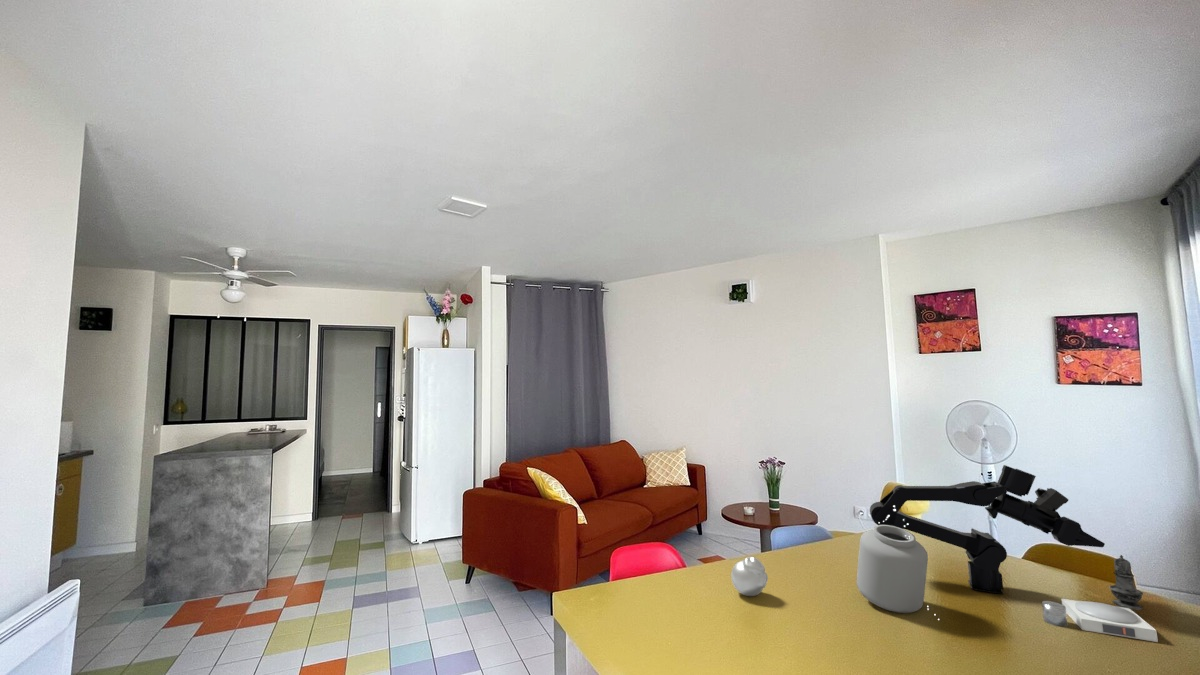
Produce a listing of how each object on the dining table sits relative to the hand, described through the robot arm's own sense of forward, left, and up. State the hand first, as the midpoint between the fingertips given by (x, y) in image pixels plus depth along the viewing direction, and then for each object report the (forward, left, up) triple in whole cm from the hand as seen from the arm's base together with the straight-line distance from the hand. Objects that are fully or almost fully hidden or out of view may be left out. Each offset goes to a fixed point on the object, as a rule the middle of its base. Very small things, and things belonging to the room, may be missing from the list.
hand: (1094, 540), depth 124 cm
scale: (-4, -14, -15) cm, 21 cm away
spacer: (-14, -18, -15) cm, 28 cm away
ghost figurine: (-80, -34, -16) cm, 88 cm away
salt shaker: (+5, +2, -16) cm, 17 cm away
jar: (-46, -25, -16) cm, 55 cm away
